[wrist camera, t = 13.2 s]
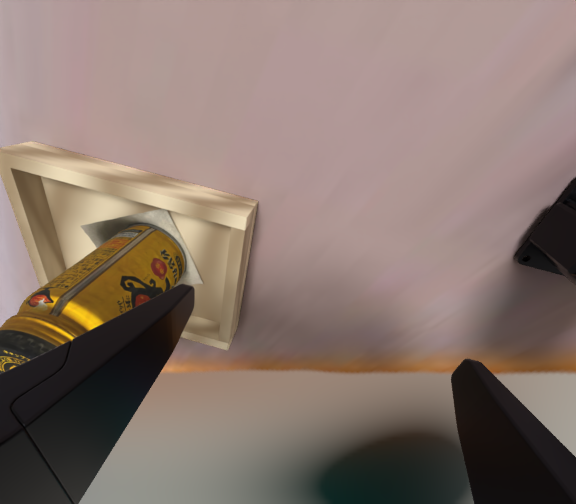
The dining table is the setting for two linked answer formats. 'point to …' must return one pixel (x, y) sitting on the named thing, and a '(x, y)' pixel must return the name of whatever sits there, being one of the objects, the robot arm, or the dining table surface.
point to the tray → (122, 202)
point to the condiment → (100, 284)
